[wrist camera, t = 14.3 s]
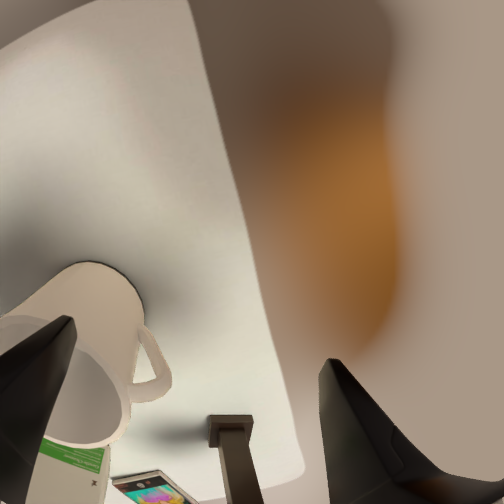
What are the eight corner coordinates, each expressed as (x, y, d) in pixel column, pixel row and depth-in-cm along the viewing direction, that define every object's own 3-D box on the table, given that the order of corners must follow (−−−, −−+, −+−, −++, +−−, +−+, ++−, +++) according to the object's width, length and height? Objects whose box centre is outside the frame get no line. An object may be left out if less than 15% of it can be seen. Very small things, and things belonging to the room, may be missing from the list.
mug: (59, 353, 22) (14, 434, 12) (40, 254, 20) (-37, 307, 10) (179, 359, 24) (179, 456, 14) (175, 254, 22) (162, 321, 12)
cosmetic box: (111, 445, 25) (95, 569, 10) (110, 474, 26) (99, 581, 12) (40, 420, 23) (-1, 532, 8) (46, 453, 24) (18, 552, 10)
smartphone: (160, 473, 26) (216, 518, 31) (160, 469, 27) (215, 515, 32) (110, 484, 26) (173, 527, 30) (111, 479, 26) (173, 524, 31)
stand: (246, 440, 28) (272, 535, 16) (207, 440, 27) (222, 540, 15) (252, 414, 27) (283, 517, 15) (210, 414, 26) (226, 522, 15)
